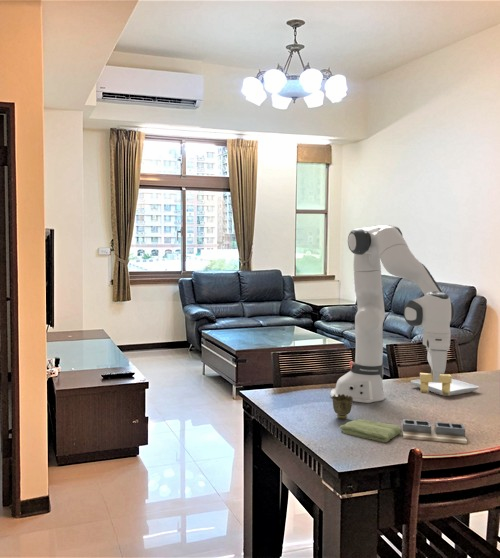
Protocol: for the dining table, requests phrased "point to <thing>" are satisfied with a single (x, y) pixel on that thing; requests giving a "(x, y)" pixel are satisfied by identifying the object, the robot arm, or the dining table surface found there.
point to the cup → (342, 405)
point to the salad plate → (455, 387)
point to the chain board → (434, 436)
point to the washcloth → (371, 430)
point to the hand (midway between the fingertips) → (434, 380)
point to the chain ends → (439, 427)
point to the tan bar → (443, 379)
